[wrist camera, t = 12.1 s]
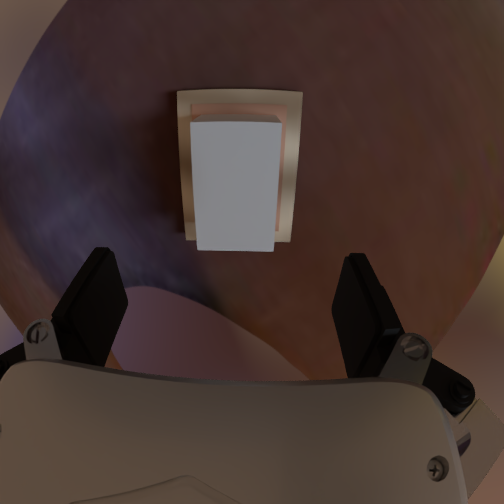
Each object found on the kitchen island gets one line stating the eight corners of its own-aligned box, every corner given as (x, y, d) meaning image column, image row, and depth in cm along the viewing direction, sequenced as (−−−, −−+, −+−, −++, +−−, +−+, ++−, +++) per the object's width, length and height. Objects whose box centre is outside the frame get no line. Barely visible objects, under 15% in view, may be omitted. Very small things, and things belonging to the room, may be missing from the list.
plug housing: (201, 114, 21) (190, 122, 17) (276, 115, 21) (282, 123, 18) (204, 223, 27) (197, 250, 23) (270, 224, 27) (273, 251, 23)
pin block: (180, 90, 21) (168, 92, 18) (300, 91, 21) (308, 93, 18) (188, 233, 29) (181, 254, 26) (288, 235, 29) (293, 256, 26)
